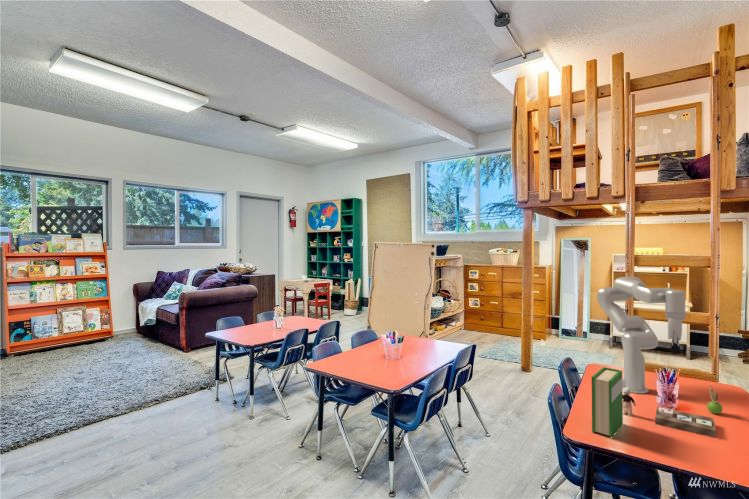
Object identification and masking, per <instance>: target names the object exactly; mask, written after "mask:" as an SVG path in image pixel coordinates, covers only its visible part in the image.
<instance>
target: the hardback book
mask: <svg viewBox="0 0 749 499" xmlns="http://www.w3.org/2000/svg"><path fill="white" fill-rule="evenodd" d="M622 379H623V370H621V369H616V368H611V367H605V366H603V367H601V368H600V369H599V370H597V372H596V373H594V374H593V375H592V376H591V433H592V432H595V433H600V434H603V435H606V436H609V438H610V437H613V436H614V434H615V433H616V432H617V433H618V431H619V430H620V429H619V428H621V427H622V426H623V424H624V423H623V422H624V421H623V420H624V417H623V415H624V414H623V399H622V395H623V391H622V390H623V389H622ZM618 429H619V430H618ZM617 433H616V434H617ZM616 434H615V435H616ZM614 437H615V436H614ZM614 437H613V438H614Z"/></svg>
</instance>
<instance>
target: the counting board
mask: <svg viewBox="0 0 749 499" xmlns="http://www.w3.org/2000/svg"><path fill="white" fill-rule="evenodd" d="M659 407H660V408H662V407H661V406H657V407H656V410H655V415H654V416H655V418H654V419H655V423H654V424H655V425H659V426H662V427H666V428H667V427H668V428H670V429H675V430H680V431H684V432H688V433H693V434H696V435H701V436H706V437H709V438H716V437H717V431H716V430H717V429H716V424H715V418H713V417H709V416H705V415H700V414H696V413H690V412H684V411H680V410H675V409H671V408H669V409H670V410H673V418H672V417H667V416H663V415H659ZM664 408H665V409H667V408H666V407H664ZM677 415H682V416H687V417H692V422H691V421H686V420H681V419H677ZM696 419H701V420H706V421H711V424H712V426H709V425H704V424H700V423H696Z"/></svg>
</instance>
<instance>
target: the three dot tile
mask: <svg viewBox="0 0 749 499" xmlns="http://www.w3.org/2000/svg"><path fill="white" fill-rule="evenodd" d="M677 419H681V420H686V421H691V422H692V417H687V416H682V415H677Z"/></svg>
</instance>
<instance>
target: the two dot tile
mask: <svg viewBox="0 0 749 499" xmlns="http://www.w3.org/2000/svg"><path fill="white" fill-rule="evenodd" d="M658 407H659V415H663V416H667V417H672V418H673V410H674V409H671V408H666V407H661V406H658ZM660 407H661V408H660ZM665 408H666V409H665ZM670 409H671V410H670Z"/></svg>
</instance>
